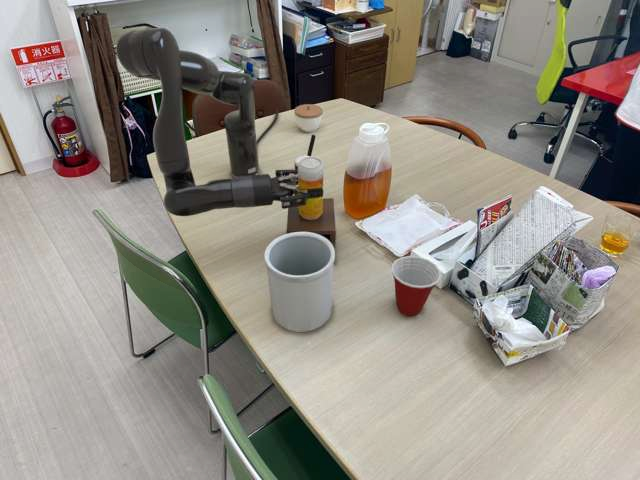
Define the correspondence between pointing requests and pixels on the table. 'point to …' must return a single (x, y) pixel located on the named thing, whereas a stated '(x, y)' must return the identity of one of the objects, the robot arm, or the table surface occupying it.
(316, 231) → the brown wood-grain cube
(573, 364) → the table surface
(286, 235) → the utensil holder
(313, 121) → the trinket box
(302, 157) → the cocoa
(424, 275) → the plastic cup
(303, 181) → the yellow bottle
